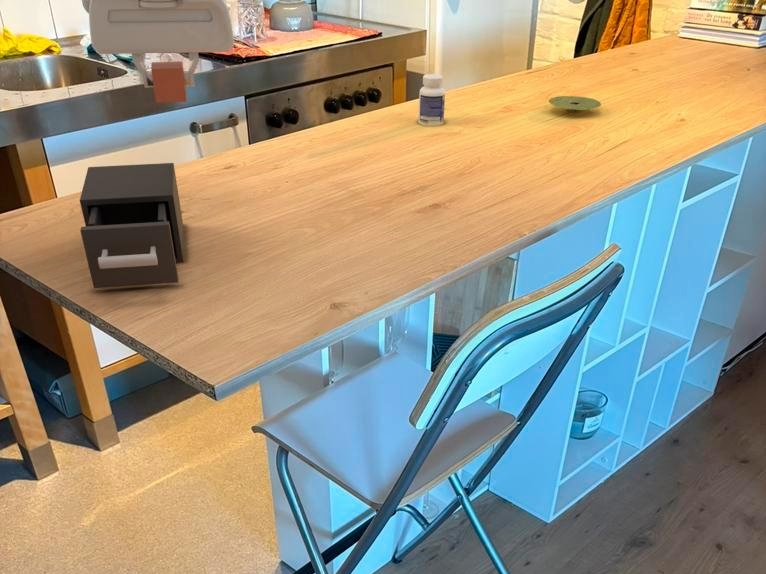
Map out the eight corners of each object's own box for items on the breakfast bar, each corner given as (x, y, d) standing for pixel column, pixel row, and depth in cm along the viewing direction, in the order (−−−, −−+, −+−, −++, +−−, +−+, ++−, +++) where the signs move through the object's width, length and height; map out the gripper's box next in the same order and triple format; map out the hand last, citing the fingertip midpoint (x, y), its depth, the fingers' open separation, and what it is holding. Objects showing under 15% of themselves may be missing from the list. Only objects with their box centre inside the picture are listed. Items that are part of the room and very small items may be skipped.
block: (156, 102, 121) (151, 69, 118) (156, 95, 124) (151, 62, 121) (186, 101, 121) (182, 68, 119) (186, 94, 125) (182, 61, 122)
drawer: (178, 296, 105) (168, 237, 100) (91, 302, 103) (76, 243, 98) (178, 245, 117) (169, 190, 112) (100, 250, 116) (88, 195, 111)
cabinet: (183, 263, 115) (173, 194, 109) (95, 269, 113) (79, 200, 107) (183, 227, 125) (173, 162, 119) (102, 232, 123) (88, 166, 117)
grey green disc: (551, 102, 183) (552, 93, 181) (602, 107, 180) (603, 97, 179) (543, 116, 174) (545, 106, 173) (596, 121, 172) (598, 111, 171)
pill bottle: (446, 126, 168) (449, 78, 162) (422, 127, 167) (423, 79, 161) (439, 119, 172) (441, 72, 166) (415, 120, 171) (417, 73, 165)
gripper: (75, -21, 109) (96, 93, 118) (229, -21, 112) (239, 89, 121) (79, -27, 113) (99, 82, 122) (227, -27, 117) (236, 79, 126)
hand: (170, 86), depth 122 cm, fingers closed on block, 4 cm apart
